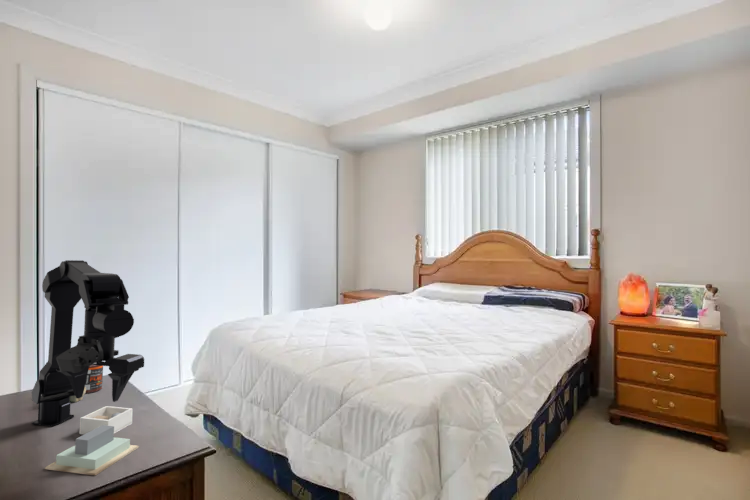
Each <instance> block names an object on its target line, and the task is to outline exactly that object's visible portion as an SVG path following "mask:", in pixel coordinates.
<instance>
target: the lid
mask: <svg viewBox="0 0 750 500" xmlns="http://www.w3.org/2000/svg"><path fill="white" fill-rule="evenodd" d="M114 434H115V433H114V426H106V425H102V426H100V427H98V428H96V429H94V430H92V431H90V432H88V433H86V434H81V436H79V437H77V438H75V442H74V443H75V445H72V446H71V447H69V448H67V449H66V450H63V451H62V452H60V453H58V454H56V458H55V462H56V465H64V466H72V467H80V468H87V469H97V468H98V467H100V466H101V465H103V464H105V463H106V462H108V461H109V460H111V459H113V458H114V457H116V456H117V455H119V454H121V453H122V452H124V451H125V450H127V449H129V448H130V445H131V439H130V438H124V437H115V435H114Z"/></svg>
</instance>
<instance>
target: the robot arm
mask: <svg viewBox="0 0 750 500" xmlns="http://www.w3.org/2000/svg"><path fill="white" fill-rule="evenodd" d="M41 286H42V287H41V289H42V292H43V293H44V298H45V300H46V302H47V303H48V304H49V305H50V307H51V310H50V311H51V313H50V314H51V315H50V329H49V343H48V356H47V357H48V359H47V362H46V363H45V364H44V365H43V367H42V368H41V369H40V370H39V373H38V379H37V380H36V381H35V383H34V386H33V388H32V391H31V400H32V401H33V402H34V403H35V404H36V405H38V411H37V420H34V421H32V422H31V425H36V426H45V427H54V426H57V425H58V424H61V423H64V422H66V421H68V420H70V419H73V418H75V414H71V403H70V396H76V398H81V397H82V395H83V392H84V388H85V384H86V379H87V374H88V369H89V366H91V365H99V366H103V367H108V370H109V371H110V372H111V373H108V374H107V376H108V377H109V378H110V379H111V383H112V385H111V387H112V388H111V393H112V394H111V398H112V402H113V403H116V402H118V401H119V399H120V397H121V395H122V393H123V392H124V390H125V388H126V386H127V384H128V383H129V381H130V379H131V377H132V376H133V375H134V373H135V372H138V371H139V370H140V369H142V368H144V367H145V358H144V356H143V355H142V354H138V353H137V354H135V353H127V354H123V355H120V356H119V353H120V352H119V351H120V350H119V349H116V350H115V345H116V344H115V342H116V341H115V339H116V338H120V337H122V336H125V335H126V334H128V333H129V332H130V331H131V330H132V328H133V327H134V323H135V318H134V316H133V314H132V313H131V312H130V311H128V310H126V309H125V306H126V305H129V298H130V297H129V293H128V292H127V289H126V286H125V284H124V281H123V279H122V278H121V277H120V276H119V274H116V273H109V272H108V273H107V272H101V271H99V270H97V269H96V268H95V267H93V266H92V265H89V264H88V261H85V260H80V259H79V260H77V259H76V260H73V259H72V260H71V259H70V260H64V261H61V262H60V265H59V266H57V267H55V268H52V269H51V270H49V271H47V273H46V274H45V275H44V278H43V279H42V285H41ZM80 301H82V303H83V306H84V309H85V310H84V326H83V327H84V330H83V335H80V336H78V339H77V344H76V345H75V346H72V337H73V336H72V335H73V334H72V333H73V322H74V321H73V320H74V309H75V307H76V306H77V305H78V303H79V302H80ZM115 356H117V357H115ZM82 398H83V397H82Z"/></svg>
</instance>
